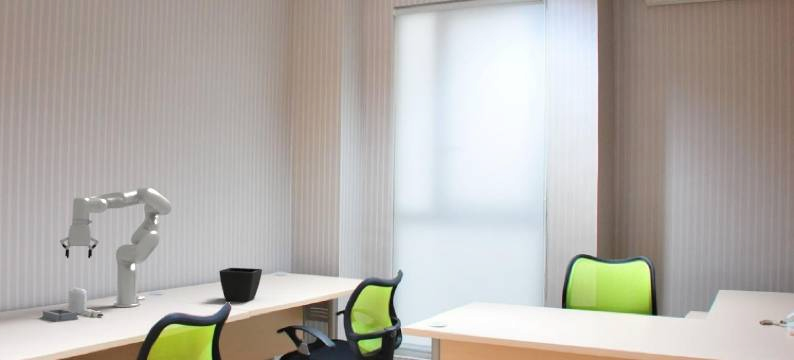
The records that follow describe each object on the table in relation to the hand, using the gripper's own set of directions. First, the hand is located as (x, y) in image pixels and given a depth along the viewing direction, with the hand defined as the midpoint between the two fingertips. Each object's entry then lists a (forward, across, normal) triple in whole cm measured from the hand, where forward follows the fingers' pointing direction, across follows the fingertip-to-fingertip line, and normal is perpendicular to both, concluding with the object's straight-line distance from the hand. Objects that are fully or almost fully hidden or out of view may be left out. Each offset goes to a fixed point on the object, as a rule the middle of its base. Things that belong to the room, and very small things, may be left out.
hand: (78, 257), depth 353 cm
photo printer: (+27, -1, +1) cm, 27 cm away
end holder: (+27, +8, +14) cm, 32 cm away
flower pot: (+24, -85, -11) cm, 89 cm away
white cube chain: (+27, -7, +13) cm, 30 cm away
